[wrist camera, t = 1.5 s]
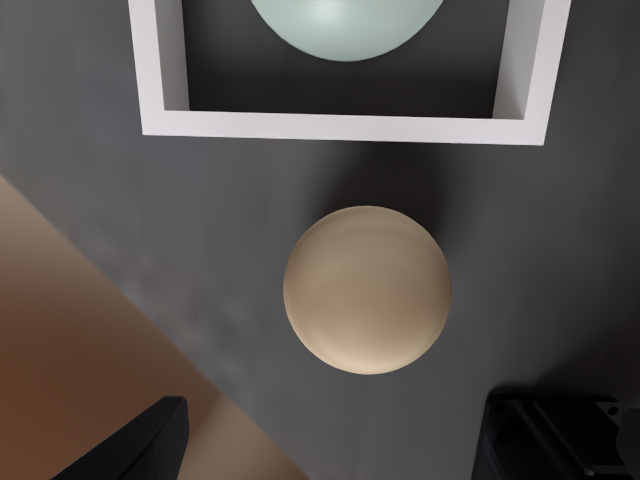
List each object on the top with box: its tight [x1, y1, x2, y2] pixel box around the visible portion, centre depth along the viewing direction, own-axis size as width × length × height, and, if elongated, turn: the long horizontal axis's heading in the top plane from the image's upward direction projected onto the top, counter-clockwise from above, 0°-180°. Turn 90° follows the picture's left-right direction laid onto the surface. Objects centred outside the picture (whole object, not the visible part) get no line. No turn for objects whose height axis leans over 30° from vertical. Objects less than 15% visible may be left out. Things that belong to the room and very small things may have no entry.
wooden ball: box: [283, 206, 452, 374], centre depth 14 cm, size 6×6×6 cm
